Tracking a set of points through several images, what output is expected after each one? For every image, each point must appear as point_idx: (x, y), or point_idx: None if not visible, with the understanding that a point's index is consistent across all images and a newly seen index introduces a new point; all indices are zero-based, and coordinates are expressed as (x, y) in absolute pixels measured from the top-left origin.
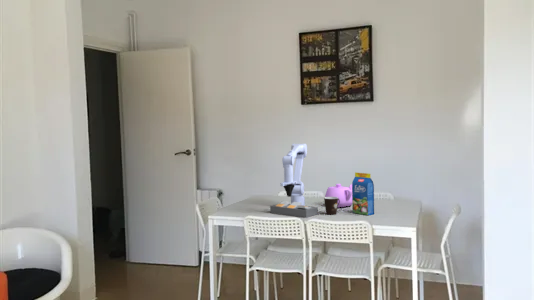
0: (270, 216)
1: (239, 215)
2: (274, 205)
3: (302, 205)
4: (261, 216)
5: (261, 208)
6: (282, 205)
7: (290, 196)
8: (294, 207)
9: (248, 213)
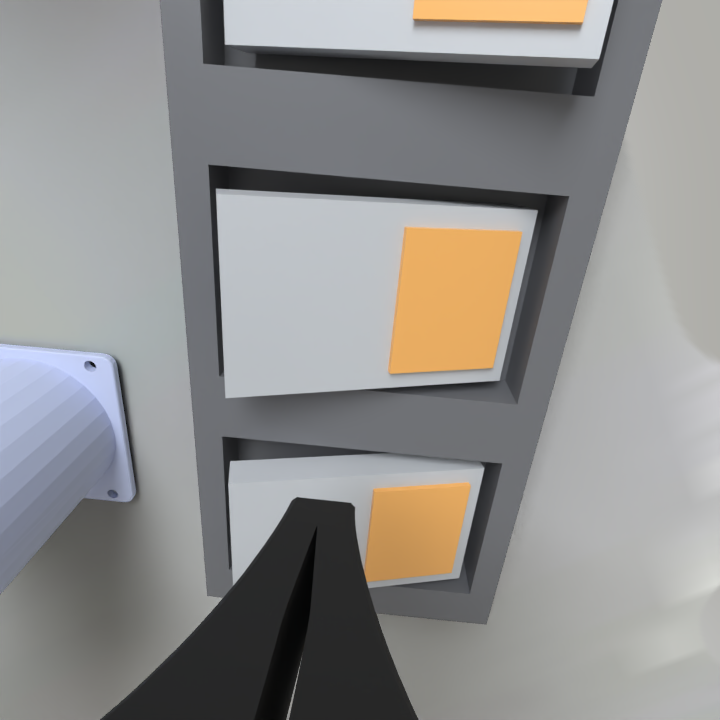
0: (688, 442)
1: (709, 708)
2: (429, 595)
3: (179, 187)
4: (714, 528)
5: (290, 703)
6: (428, 489)
7: (318, 500)
8: (472, 216)
9: (581, 690)
